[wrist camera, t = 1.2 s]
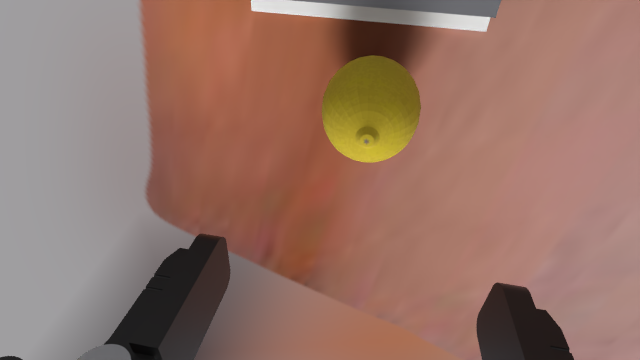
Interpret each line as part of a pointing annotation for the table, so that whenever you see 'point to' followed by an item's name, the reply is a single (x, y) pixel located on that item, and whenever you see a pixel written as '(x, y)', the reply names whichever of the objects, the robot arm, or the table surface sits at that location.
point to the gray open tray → (427, 5)
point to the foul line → (372, 14)
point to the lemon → (371, 108)
